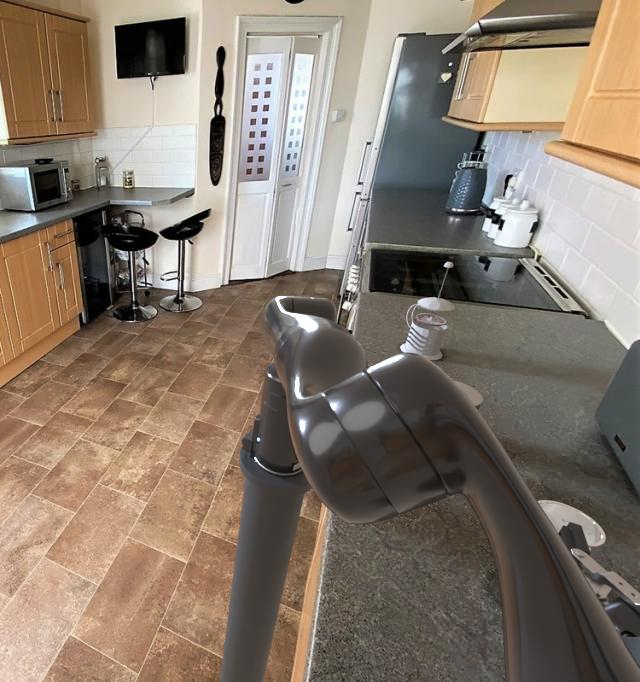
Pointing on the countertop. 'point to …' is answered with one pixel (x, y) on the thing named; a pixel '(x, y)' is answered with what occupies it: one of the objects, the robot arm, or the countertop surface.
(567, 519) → the beer glass
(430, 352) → the french press
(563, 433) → the countertop surface
